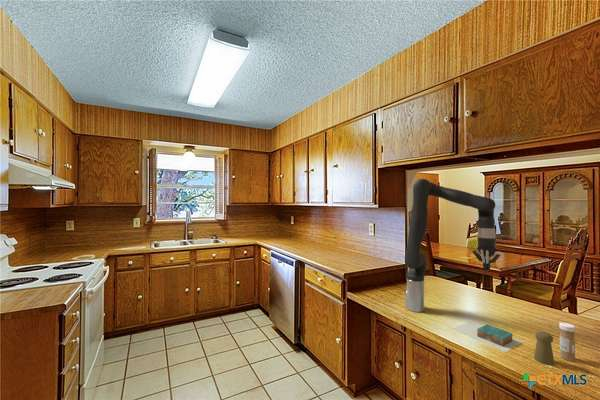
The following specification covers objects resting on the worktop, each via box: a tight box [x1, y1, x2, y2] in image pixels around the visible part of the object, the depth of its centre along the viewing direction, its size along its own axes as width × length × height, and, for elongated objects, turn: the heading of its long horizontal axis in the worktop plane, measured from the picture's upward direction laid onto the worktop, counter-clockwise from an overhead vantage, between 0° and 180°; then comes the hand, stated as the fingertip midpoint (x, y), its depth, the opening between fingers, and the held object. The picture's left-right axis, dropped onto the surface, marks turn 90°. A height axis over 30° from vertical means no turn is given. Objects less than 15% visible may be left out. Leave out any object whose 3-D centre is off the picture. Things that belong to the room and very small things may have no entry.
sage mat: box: [451, 321, 524, 353], centre depth 125 cm, size 23×16×1 cm
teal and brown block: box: [477, 323, 513, 347], centre depth 121 cm, size 4×9×10 cm
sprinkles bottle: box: [558, 322, 576, 362], centre depth 107 cm, size 5×5×14 cm
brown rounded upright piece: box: [533, 330, 556, 366], centre depth 105 cm, size 6×6×11 cm
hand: (486, 270), depth 138 cm, fingers closed
